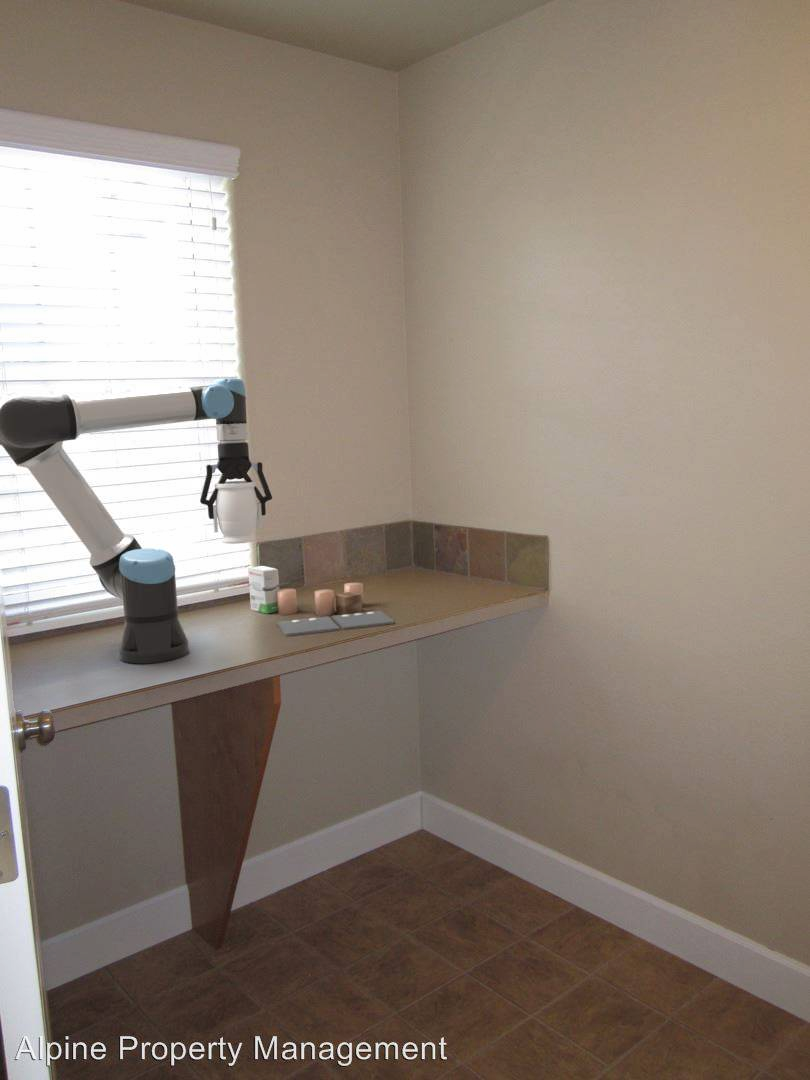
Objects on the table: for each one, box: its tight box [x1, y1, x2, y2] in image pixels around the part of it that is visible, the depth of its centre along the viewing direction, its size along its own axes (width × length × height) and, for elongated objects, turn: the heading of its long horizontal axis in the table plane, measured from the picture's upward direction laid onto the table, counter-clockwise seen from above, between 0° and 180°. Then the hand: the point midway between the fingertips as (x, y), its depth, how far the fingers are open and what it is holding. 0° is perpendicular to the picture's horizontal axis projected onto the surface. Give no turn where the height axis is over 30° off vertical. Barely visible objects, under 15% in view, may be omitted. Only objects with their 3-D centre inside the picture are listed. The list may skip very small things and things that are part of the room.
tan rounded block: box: [277, 588, 298, 616], centre depth 237 cm, size 5×5×6 cm
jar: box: [214, 480, 259, 545], centre depth 223 cm, size 11×10×15 cm
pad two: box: [277, 616, 340, 637], centre depth 220 cm, size 13×13×1 cm
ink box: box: [247, 565, 280, 615], centre depth 240 cm, size 9×5×12 cm, turn 39°
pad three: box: [331, 610, 395, 630], centre depth 224 cm, size 13×13×1 cm
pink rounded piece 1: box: [314, 588, 336, 617], centre depth 234 cm, size 5×5×6 cm
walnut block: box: [334, 592, 363, 615], centre depth 234 cm, size 5×5×5 cm
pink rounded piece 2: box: [343, 582, 364, 607], centre depth 241 cm, size 5×5×6 cm
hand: (238, 530), depth 223 cm, fingers closed on jar, 10 cm apart
